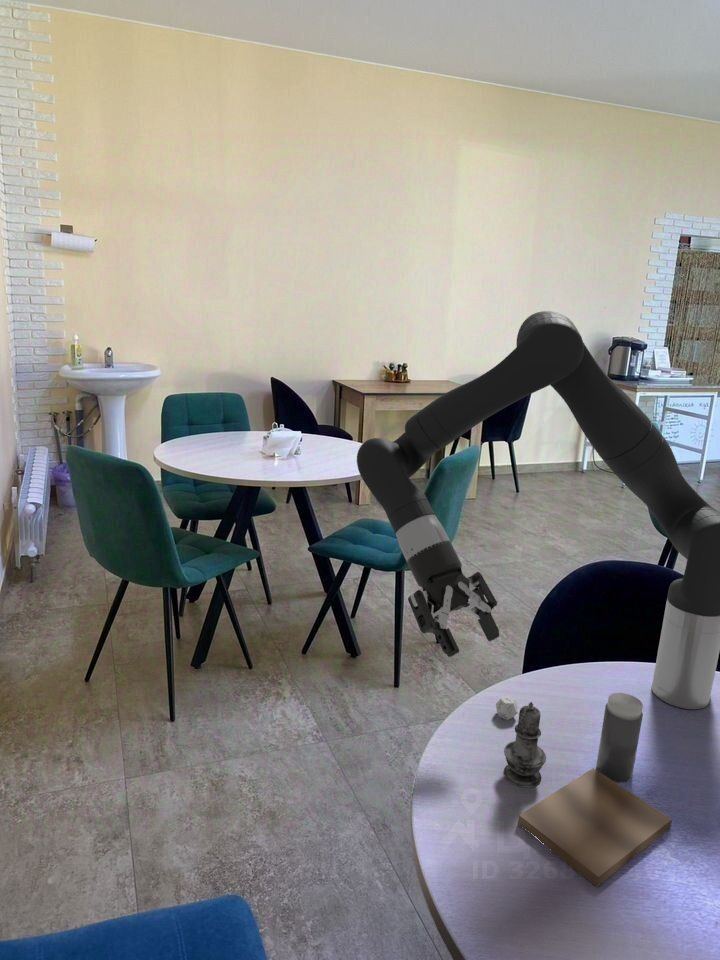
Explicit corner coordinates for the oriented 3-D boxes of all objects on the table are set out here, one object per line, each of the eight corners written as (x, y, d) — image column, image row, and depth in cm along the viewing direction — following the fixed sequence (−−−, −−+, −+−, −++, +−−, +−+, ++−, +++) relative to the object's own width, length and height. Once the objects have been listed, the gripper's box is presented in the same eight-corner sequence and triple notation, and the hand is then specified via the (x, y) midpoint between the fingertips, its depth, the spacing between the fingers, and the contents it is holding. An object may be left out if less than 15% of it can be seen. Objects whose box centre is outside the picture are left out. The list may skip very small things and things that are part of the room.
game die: (507, 725, 113) (509, 709, 112) (490, 714, 116) (491, 698, 115) (522, 717, 115) (524, 701, 114) (504, 706, 118) (506, 691, 117)
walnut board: (591, 776, 102) (593, 767, 101) (670, 828, 93) (672, 819, 92) (517, 824, 92) (518, 814, 92) (596, 887, 83) (598, 876, 83)
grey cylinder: (609, 754, 107) (620, 688, 104) (639, 773, 103) (651, 704, 100) (589, 767, 104) (599, 699, 101) (619, 786, 100) (631, 716, 97)
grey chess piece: (544, 792, 98) (554, 717, 95) (501, 785, 99) (509, 711, 96) (542, 765, 104) (552, 693, 100) (501, 758, 105) (509, 687, 102)
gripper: (405, 549, 104) (454, 652, 99) (473, 531, 113) (522, 625, 107) (381, 570, 110) (426, 668, 104) (447, 551, 118) (492, 642, 113)
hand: (474, 646), depth 106 cm, fingers open, 8 cm apart
